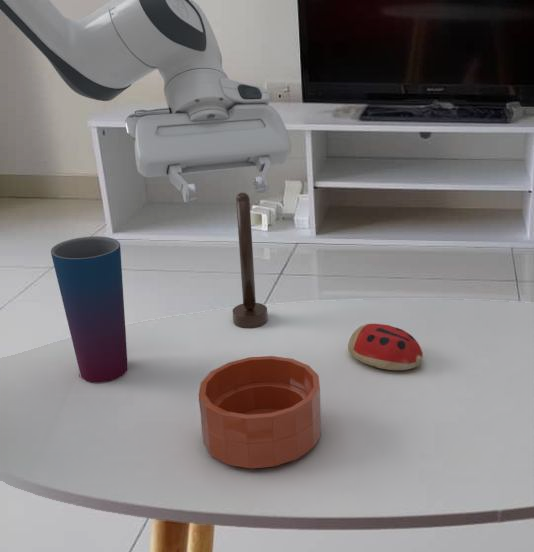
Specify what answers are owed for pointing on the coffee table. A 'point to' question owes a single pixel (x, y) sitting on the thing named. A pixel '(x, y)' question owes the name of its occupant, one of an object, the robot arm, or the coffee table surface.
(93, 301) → the cup
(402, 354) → the ladybug figurine
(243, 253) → the brown rod
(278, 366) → the bowl
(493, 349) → the coffee table surface
